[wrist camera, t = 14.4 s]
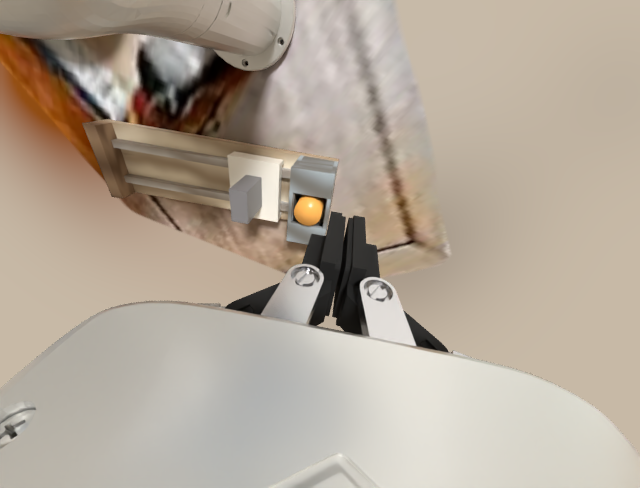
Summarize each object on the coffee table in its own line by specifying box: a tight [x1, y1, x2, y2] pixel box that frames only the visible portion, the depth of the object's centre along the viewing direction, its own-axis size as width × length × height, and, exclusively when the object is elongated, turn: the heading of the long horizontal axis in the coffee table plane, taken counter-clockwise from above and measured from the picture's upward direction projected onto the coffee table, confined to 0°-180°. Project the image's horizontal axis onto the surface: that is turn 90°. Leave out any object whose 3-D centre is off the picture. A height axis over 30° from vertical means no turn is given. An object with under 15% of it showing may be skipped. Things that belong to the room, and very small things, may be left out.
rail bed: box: [82, 119, 339, 245], centre depth 39 cm, size 12×39×8 cm, turn 82°
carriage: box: [227, 151, 284, 224], centre depth 37 cm, size 10×8×8 cm
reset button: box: [294, 194, 325, 226], centre depth 37 cm, size 4×4×5 cm
